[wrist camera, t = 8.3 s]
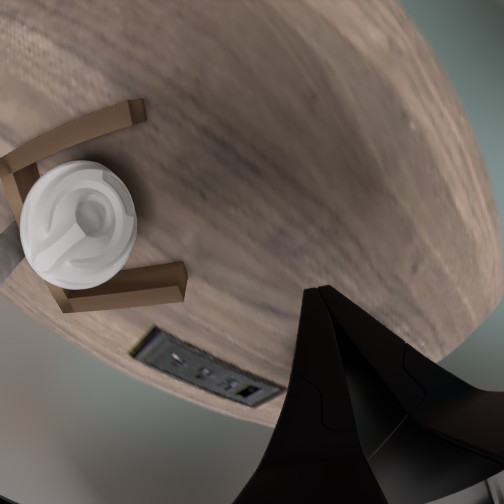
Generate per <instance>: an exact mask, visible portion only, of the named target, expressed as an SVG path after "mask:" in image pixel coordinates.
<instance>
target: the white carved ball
mask: <svg viewBox="0 0 504 504" xmlns="http://www.w3.org/2000/svg"><path fill="white" fill-rule="evenodd" d="M136 236H137V216H136V212H135V208H134V204H133V200H132V198H131V195H130V193H129V191H128V189H127V188H126V186H125V185H124V183H123V182H122V181H121V180H120V179H119V178H118V177H117V176H116V175H115V174H114V173H113V172H112V171H111V170H109V169H108V168H107V167H105V166H104V165H102V164H100V163H97V162H93V161H83V160H79V161H69V162H66V163H63V164H60V165H58V166H56V167H54V168H52V169H51V170H49V171H48V172H46V173H45V174H44V175H42V176H41V177H40V178H39V179H38V180H37V181H36V183H35V184H34V185H33V187H32V188H31V190H30V191H29V193H28V195H27V197H26V199H25V202H24V205H23V208H22V212H21V218H20V238H21V243H22V247H23V250H24V253H25V256H26V258H27V261H28V262H29V264H30V265H31V267H32V268H33V269H34V270H35V272H36V273H37V274H38V275H39V276H40V277H41V278H43V279H44V280H46V281H48V282H49V283H51V284H53V285H55V286H58V287H61V288H65V289H73V290H78V289H87V288H92V287H95V286H98V285H100V284H102V283H104V282H106V281H107V280H109V279H110V278H112V277H113V276H114V275H115V274H117V273H118V272H119V271H120V269H121V268H122V267H123V266H124V264H125V263H126V262H127V260H128V258H129V256H130V254H131V252H132V250H133V247H134V244H135V241H136Z"/></svg>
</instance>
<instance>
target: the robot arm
mask: <svg viewBox="0 0 504 504" xmlns="http://www.w3.org/2000/svg"><path fill="white" fill-rule="evenodd" d="M0 504H19V503H17V502H14V501H12V500H10V499H8V498H6V497H4V496H2V495H0ZM232 504H504V392H496V391H485V390H481V389H478V388H476V387H474V386H472V385H470V384H468V383H467V382H465V381H463V380H462V379H460V378H458V377H457V376H455V375H454V374H452V373H450V372H448V371H447V370H445V369H444V368H442V367H440V366H439V365H437V364H436V363H434V362H433V361H431V360H430V359H428V358H427V357H425V356H424V355H423V354H421V353H420V352H418V351H417V350H416V349H414V348H413V347H412V346H411V345H409V344H408V343H406V344H405V341H404V340H403V339H401V338H400V337H399V336H397V335H396V334H395V333H393V332H392V331H391V330H389V329H388V328H387V327H385V326H384V325H383V324H381V323H380V322H379V321H378V320H376V319H375V318H374V317H372V316H371V315H370V314H368V313H367V312H366V311H364V310H363V309H362V308H360V307H359V306H358V305H356V304H355V303H353V302H352V301H351V300H349V299H348V298H347V297H345V296H344V295H343V294H341V293H340V292H339V291H337V290H336V289H335V288H333V287H332V286H330V285H325V286H319V287H318V288H315V287H314V288H308V289H304V291H303V298H302V306H301V313H300V320H299V327H298V333H297V340H296V346H295V352H294V358H293V364H292V370H291V375H290V380H289V385H288V390H287V394H286V398H285V401H284V404H283V407H282V410H281V413H280V416H279V419H278V421H277V424H276V426H275V429H274V432H273V434H272V436H271V439H270V441H269V444H268V446H267V448H266V451H265V453H264V455H263V457H262V459H261V462H260V463H259V465H258V467H257V469H256V471H255V472H254V474H253V475H252V477H251V478H250V479H249V481H248V482H247V484H246V485H245V486H244V488H243V489H242V491H241V492H240V493H239V495H238V496H237V497H236V499H235V500H234V501H233V503H232Z"/></svg>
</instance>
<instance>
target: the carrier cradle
mask: <svg viewBox="0 0 504 504" xmlns="http://www.w3.org/2000/svg"><path fill="white" fill-rule="evenodd" d="M146 120H147V118H146V113H145V108H144V103H143V99H136V100H127V101H124V102H121V103H118V104H115V105H112V106H109V107H106V108H104V109H101V110H98V111H96V112H93V113H90V114H88V115H85V116H83V117H80V118H78V119H76V120H73V121H71V122H69V123H66V124H64V125H62V126H60V127H57V128H55V129H53V130H51V131H49V132H47V133H45V134H43V135H41V136H39V137H37V138H35V139H33V140H31V141H29V142H27V143H26V144H24V145H22V146H20V147H18V148H17V149H15V150H13V151H11V152H10V153H8V154H6V155H5V156H3V157H1V158H0V177H1V180H2V183H3V187H4V190H5V193H6V196H7V198H8V201H9V204H10V207H11V209H12V212H13V215H14V217H15V220H16V221H15V222H13V223H12V224H11V225H10V226H9V227H8V228H7V229H6V230H5V231H3V232H2V233H1V234H0V286H1V285H2V284H3V282H4V281H5V280H6V279H7V277H8V276H9V275H10V274H11V272H12V271H13V270H14V269H15V268H16V266H17V265H18V264H19V263H20V262H21V261H22V259H23V258H24V257H25V253H24V250H23V247H22V243H21V238H20V218H21V212H22V208H23V205H24V202H25V199H26V197H27V195H28V193H29V191H30V190H31V188H32V187H33V185H34V184H35V183H36V181H37V180H38V179H39V178H40V176H39V173H38V170H37V166H36V163H35V162H36V161H38V160H41V159H43V158H45V157H47V156H49V155H52V154H54V153H56V152H59V151H61V150H64V149H66V148H68V147H71V146H73V145H76V144H79V143H81V142H84V141H87V140H89V139H92V138H95V137H98V136H101V135H103V134H106V133H109V132H113V131H116V130H119V129H122V128H125V127H129V126H132V125H135V124H137V123H140V122H143V121H146ZM187 279H188V276H187V273H186V270H185V266H184V263H183V262H177V263H170V264H164V265H157V266H150V267H144V268H137V269H131V270H124V271H119V272H118V273H117V274H115V275H114V276H113V277H112V278H110V279H109V280H107V281H106V282H104V283H102V284H100V285H98V286H95V287H92V288H87V289H78V290H73V289H65V288H61V287H58V286H55V285H53V284H51V283H49V282H48V281H46V280H44V281H45V283H46V285H47V286H48V288H49V290H50V292H51V294H52V295H53V297H54V299H55V300H56V302H57V304H58V305H59V307H60V309H61V310H62V312H63V313H73V312H86V311H98V310H109V309H120V308H130V307H140V306H149V305H158V304H167V303H176V302H184V297H185V290H186V284H187Z"/></svg>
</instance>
